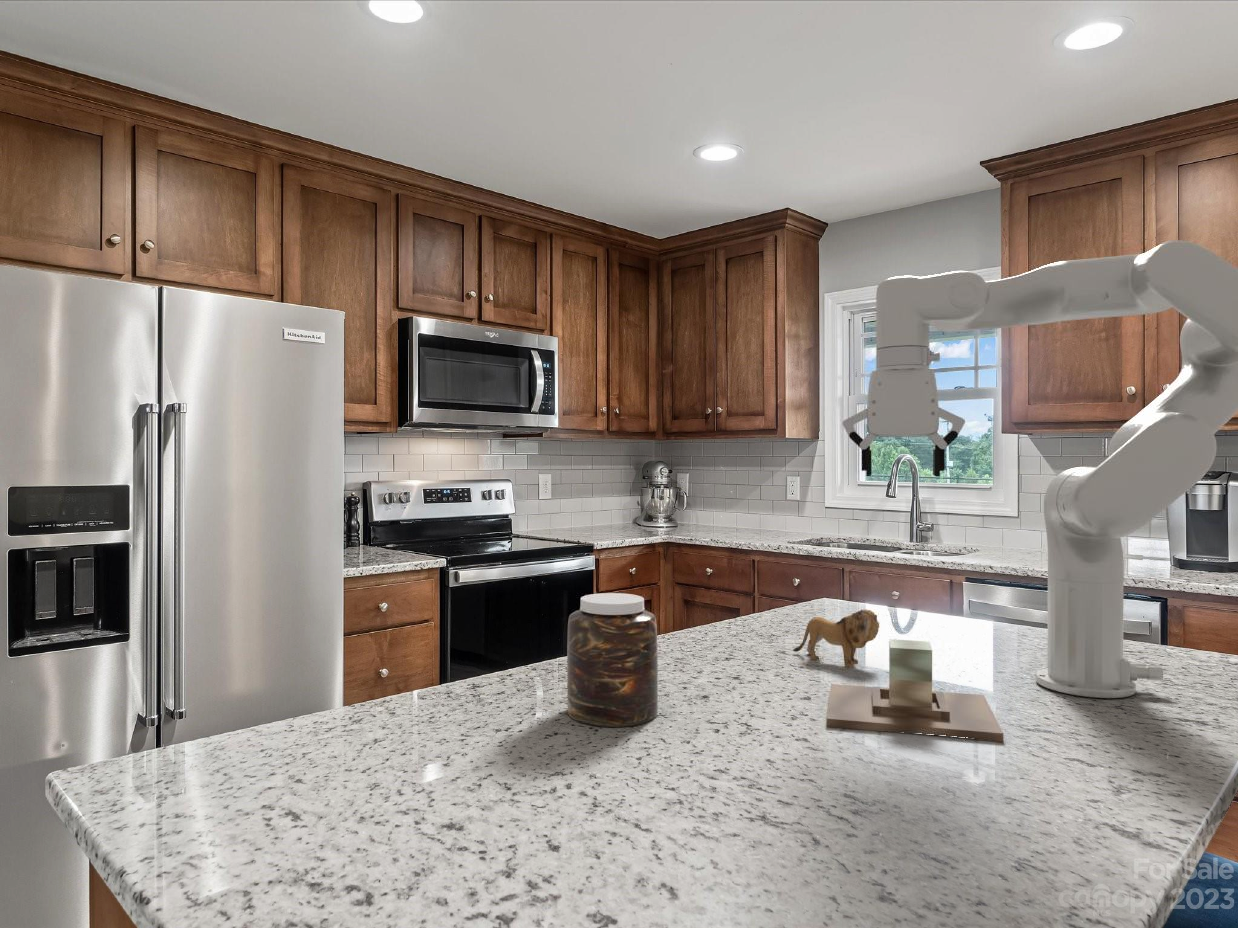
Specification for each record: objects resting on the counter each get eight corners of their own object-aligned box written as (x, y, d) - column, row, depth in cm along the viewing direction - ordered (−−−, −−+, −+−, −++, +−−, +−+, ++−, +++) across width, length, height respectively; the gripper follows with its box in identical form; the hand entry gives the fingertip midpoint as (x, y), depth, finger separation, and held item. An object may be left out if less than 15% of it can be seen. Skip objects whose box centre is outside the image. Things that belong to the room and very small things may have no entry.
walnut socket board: (983, 702, 112) (983, 687, 112) (1003, 741, 96) (1003, 724, 96) (831, 690, 117) (831, 676, 117) (826, 726, 102) (826, 710, 102)
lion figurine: (884, 664, 132) (884, 608, 132) (871, 671, 128) (871, 613, 128) (800, 651, 141) (800, 598, 141) (785, 657, 137) (785, 603, 137)
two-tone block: (929, 702, 109) (929, 641, 108) (932, 713, 104) (932, 650, 104) (889, 699, 110) (889, 639, 110) (890, 710, 105) (890, 647, 105)
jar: (659, 700, 113) (659, 591, 113) (655, 729, 101) (655, 607, 101) (574, 698, 114) (574, 590, 114) (560, 726, 102) (559, 605, 102)
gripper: (961, 362, 125) (961, 475, 125) (843, 366, 130) (842, 475, 130) (968, 356, 118) (967, 477, 118) (842, 360, 122) (841, 476, 123)
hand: (902, 476), depth 124 cm, fingers open, 9 cm apart
